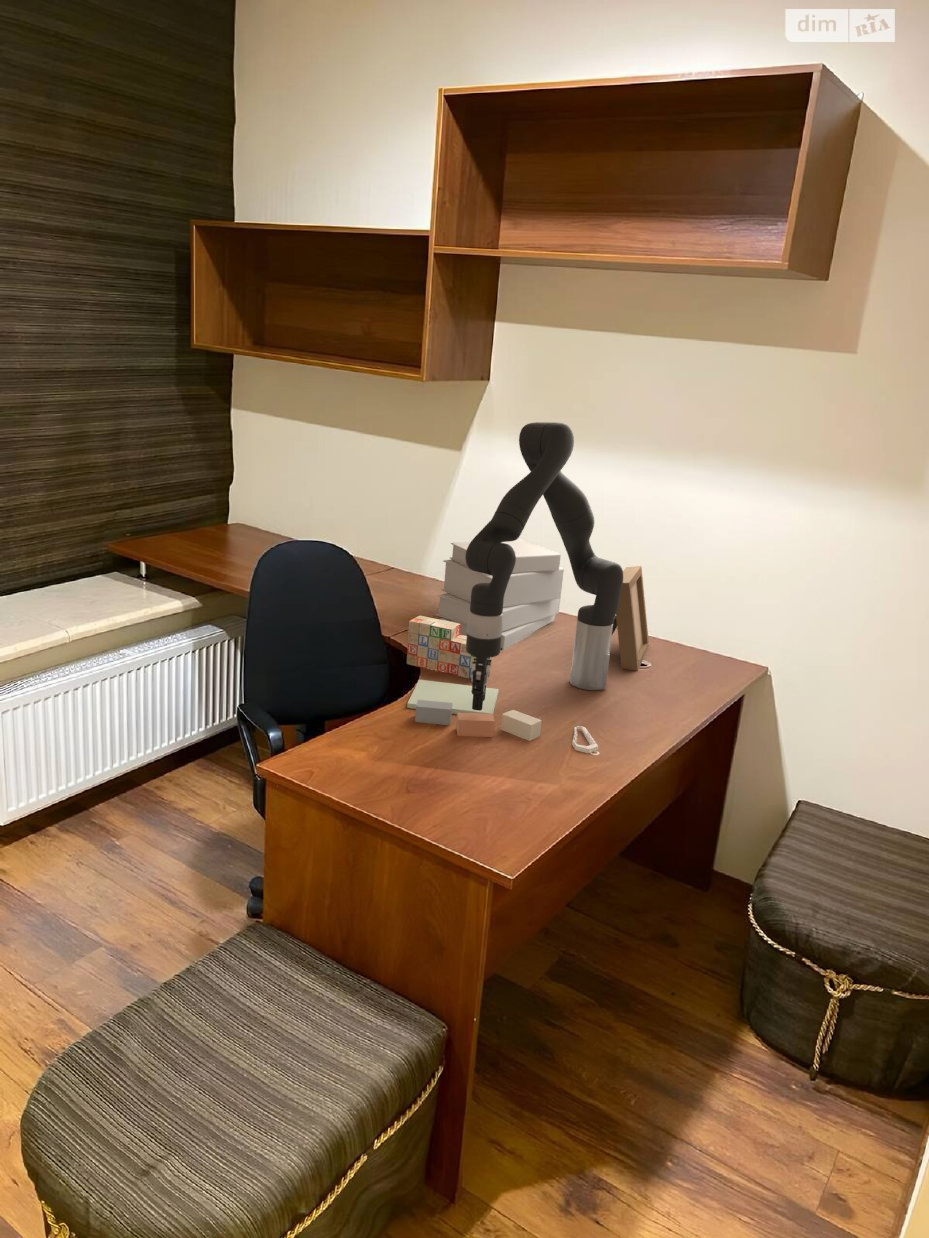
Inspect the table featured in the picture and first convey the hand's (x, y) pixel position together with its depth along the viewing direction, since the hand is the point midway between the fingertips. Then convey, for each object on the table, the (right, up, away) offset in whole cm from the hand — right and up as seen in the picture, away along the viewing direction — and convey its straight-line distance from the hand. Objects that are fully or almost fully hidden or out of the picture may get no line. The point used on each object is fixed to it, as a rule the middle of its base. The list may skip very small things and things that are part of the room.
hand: (478, 704), depth 206 cm
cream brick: (+9, -7, +4) cm, 12 cm away
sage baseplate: (-6, -1, +19) cm, 20 cm away
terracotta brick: (-1, -7, +2) cm, 7 cm away
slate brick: (-10, -4, +7) cm, 13 cm away
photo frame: (+40, +8, +59) cm, 72 cm away
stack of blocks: (-8, +5, +39) cm, 40 cm away
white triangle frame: (+23, -9, +2) cm, 25 cm away
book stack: (+7, +15, +75) cm, 76 cm away
